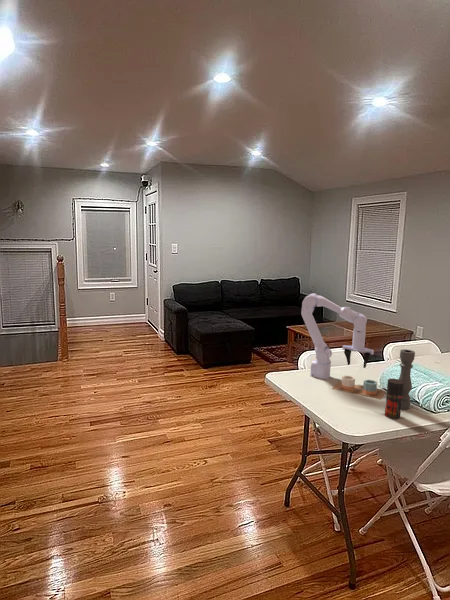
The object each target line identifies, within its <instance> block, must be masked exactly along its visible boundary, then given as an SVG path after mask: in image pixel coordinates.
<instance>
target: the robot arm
mask: <svg viewBox="0 0 450 600" xmlns="http://www.w3.org/2000/svg"><path fill="white" fill-rule="evenodd" d="M316 307H317V308H318V307H325V308H327V309H329V310H330V311H333V312H335V313H337V314H338V315H339V317H340V318H341V319H343V320H345V321H347V322H349V323H351V324H353V331H352V344H351V345H344V344H343V345H342V351H343V350H344V351H343V353H344V355H345V358H346V363H347V365H348V366H349V365H351V355H352V352H357V353H364V354H363V356H364V357H363V358H364V359H363V368H364V369H366V367H367V364H368V361H369V359H370V358H371V356H372V355H374V351H375V350H374V349H372V348H371V349H370V348H368V347H365V346H366V345H365V343H366V334H367V333H366V332H367V331H366V328H367V327H366V326H367V321H368V317H367V315H365V314H363V313H360V312H359V311H357V312H356V311H355V310H353V309H351V307H350V306H343V307H342V306H340V305H338V304H336V303H334V302H333V301H331V300H330V299H328V298H326V297H325V296H322V295H318V294H317V293H314V292H313V293H310V294H308V295H306V296H305V297H304V299H303V300H302V302H301V312H300V313H301V314H300V315H301V317H302V319H303V322H304V324H305V326H306V329H307V331H308V334H309V336H310V338H311V340H312V344H313V345H314V350H315V351H314V352H315V359H313V360H312V361H311V364H310V375H309V376H310V378H311V377H313V378H317V379H321V380H327V379H330V378H331V365H332V362H331V359H330V358H331V357H332V355H333V353H332V352H333V351H332V350H331V349H330V348H329V346H328V345H327V343H326V342H325V341H324V339H323V336H322V334H321V331H320V329H319V327H318V324H317V322H316V320H315V317H314V315H313V313H314V311H315V308H316Z"/></svg>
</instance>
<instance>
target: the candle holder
mask: <svg viewBox="0 0 450 600" xmlns="http://www.w3.org/2000/svg"><path fill="white" fill-rule="evenodd" d="M415 357H416V352H415V350H412V349H400V353H399V360H400V362H401V363H399V366H400V375H399V377H398V378H397V379H398V380H401V381H403V382H404V384H403V394H402V404H401V411H409V410H410V409H411V403H412V402H411V401H412V400H411V396H410V392H411V391H412V388H413V385H412V378H411V371H412V369H413V368H414V365H413V363H414V360H415Z"/></svg>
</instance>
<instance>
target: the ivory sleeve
mask: <svg viewBox="0 0 450 600" xmlns="http://www.w3.org/2000/svg"><path fill="white" fill-rule="evenodd" d="M341 382H342V386H341V387H342V388H343V389H347V390H353V389H354V388H355V385H356V377H355V376H352V375H342V377H341Z"/></svg>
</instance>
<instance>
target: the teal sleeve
mask: <svg viewBox="0 0 450 600" xmlns="http://www.w3.org/2000/svg"><path fill="white" fill-rule="evenodd" d="M370 383H371V384H370ZM362 386H363V392H364V393H365V394H370V395H374V394H376V391H377V388H378V382H377V381H376V380H372V379H364V380H363V385H362Z"/></svg>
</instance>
